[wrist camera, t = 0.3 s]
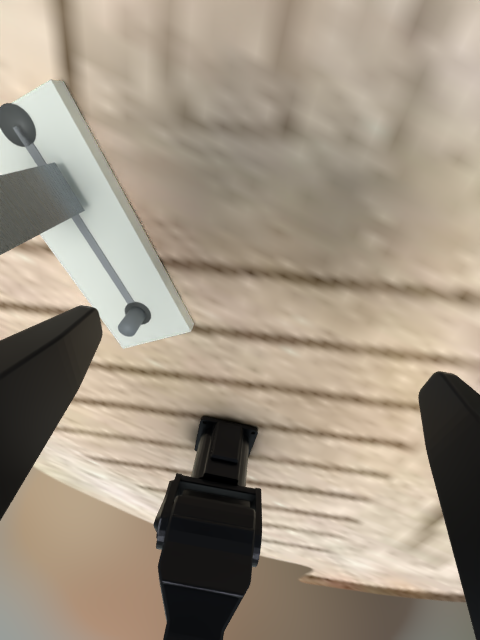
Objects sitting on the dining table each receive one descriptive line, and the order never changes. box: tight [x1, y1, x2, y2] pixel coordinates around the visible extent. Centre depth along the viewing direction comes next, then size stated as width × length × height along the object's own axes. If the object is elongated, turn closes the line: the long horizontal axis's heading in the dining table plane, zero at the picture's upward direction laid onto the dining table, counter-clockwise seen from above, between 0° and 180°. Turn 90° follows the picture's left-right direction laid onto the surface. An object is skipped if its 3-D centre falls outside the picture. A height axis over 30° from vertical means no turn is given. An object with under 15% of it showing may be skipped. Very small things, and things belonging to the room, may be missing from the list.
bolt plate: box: [0, 80, 194, 349], centre depth 22 cm, size 18×7×4 cm, turn 21°
